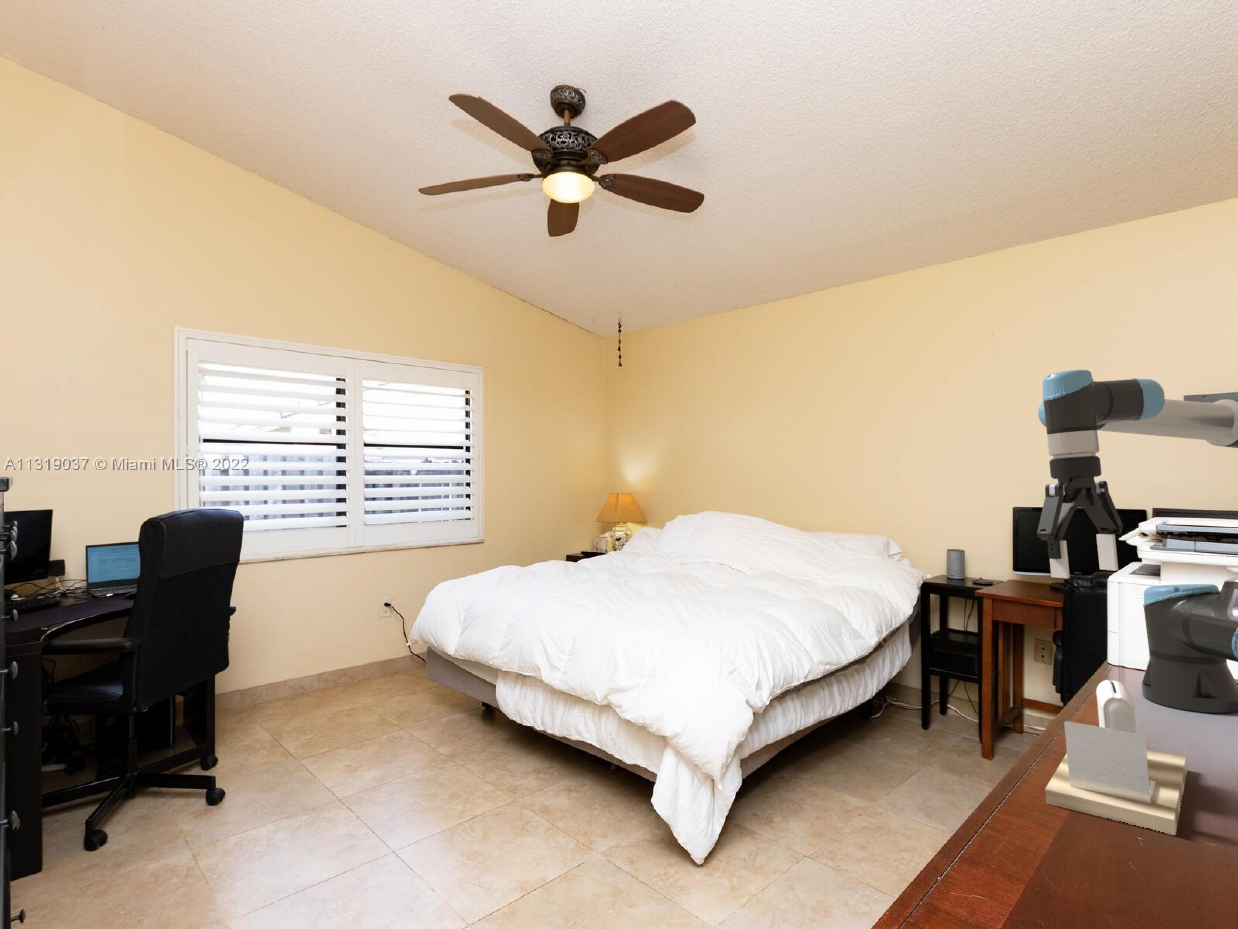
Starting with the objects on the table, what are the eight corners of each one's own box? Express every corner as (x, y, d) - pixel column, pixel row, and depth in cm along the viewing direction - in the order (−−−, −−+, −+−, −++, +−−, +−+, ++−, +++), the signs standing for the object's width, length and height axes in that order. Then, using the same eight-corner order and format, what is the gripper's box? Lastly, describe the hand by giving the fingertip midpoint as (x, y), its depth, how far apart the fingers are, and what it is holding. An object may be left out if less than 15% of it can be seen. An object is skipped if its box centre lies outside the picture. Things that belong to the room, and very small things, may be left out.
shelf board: (1077, 748, 108) (1076, 737, 108) (1187, 770, 98) (1185, 757, 98) (1046, 803, 91) (1045, 789, 91) (1175, 835, 81) (1173, 819, 81)
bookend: (1079, 769, 96) (1073, 709, 97) (1156, 785, 90) (1149, 721, 90) (1070, 786, 91) (1064, 723, 92) (1150, 805, 85) (1144, 736, 85)
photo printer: (1100, 750, 102) (1092, 672, 103) (1134, 754, 100) (1126, 675, 101) (1106, 775, 94) (1098, 691, 94) (1143, 781, 91) (1135, 694, 92)
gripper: (1095, 455, 123) (1106, 565, 122) (1007, 460, 114) (1017, 578, 113) (1139, 452, 116) (1150, 568, 115) (1049, 456, 107) (1061, 583, 106)
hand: (1085, 573), depth 114 cm, fingers open, 13 cm apart
